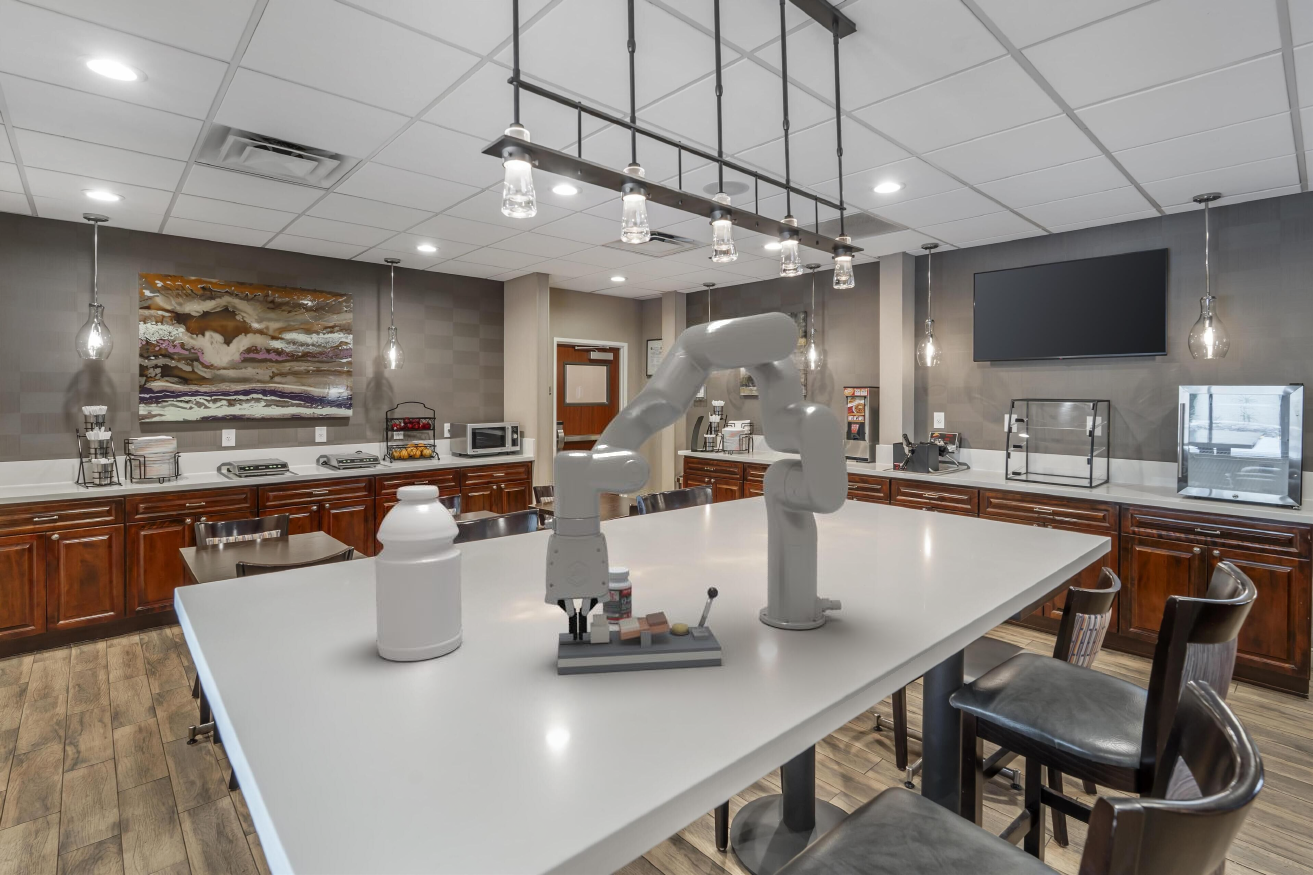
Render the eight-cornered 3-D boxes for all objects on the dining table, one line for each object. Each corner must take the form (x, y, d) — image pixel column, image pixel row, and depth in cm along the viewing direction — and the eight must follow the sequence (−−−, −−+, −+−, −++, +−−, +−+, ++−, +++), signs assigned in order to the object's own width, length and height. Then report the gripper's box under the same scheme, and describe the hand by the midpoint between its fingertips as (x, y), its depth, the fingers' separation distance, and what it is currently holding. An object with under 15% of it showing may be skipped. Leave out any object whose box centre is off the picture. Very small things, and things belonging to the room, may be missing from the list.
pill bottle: (627, 625, 121) (627, 574, 120) (599, 623, 122) (599, 572, 121) (634, 615, 126) (634, 566, 126) (607, 614, 127) (607, 565, 127)
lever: (703, 628, 107) (718, 587, 107) (705, 632, 105) (720, 590, 105) (693, 625, 106) (708, 584, 106) (695, 629, 105) (710, 587, 105)
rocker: (665, 619, 107) (663, 610, 107) (670, 630, 102) (668, 620, 102) (619, 628, 106) (617, 619, 106) (621, 639, 101) (620, 630, 101)
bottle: (478, 638, 114) (476, 484, 113) (427, 667, 101) (424, 493, 99) (414, 629, 118) (412, 481, 117) (357, 656, 105) (354, 490, 104)
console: (707, 642, 111) (707, 611, 111) (721, 665, 101) (721, 631, 101) (559, 650, 108) (559, 618, 107) (557, 675, 98) (557, 639, 97)
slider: (608, 637, 105) (608, 612, 105) (609, 642, 102) (609, 616, 102) (590, 637, 104) (590, 612, 104) (590, 643, 102) (590, 617, 102)
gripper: (528, 531, 98) (530, 648, 98) (624, 529, 99) (625, 643, 100) (532, 523, 105) (533, 632, 106) (621, 521, 107) (621, 627, 108)
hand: (578, 637), depth 103 cm, fingers closed
